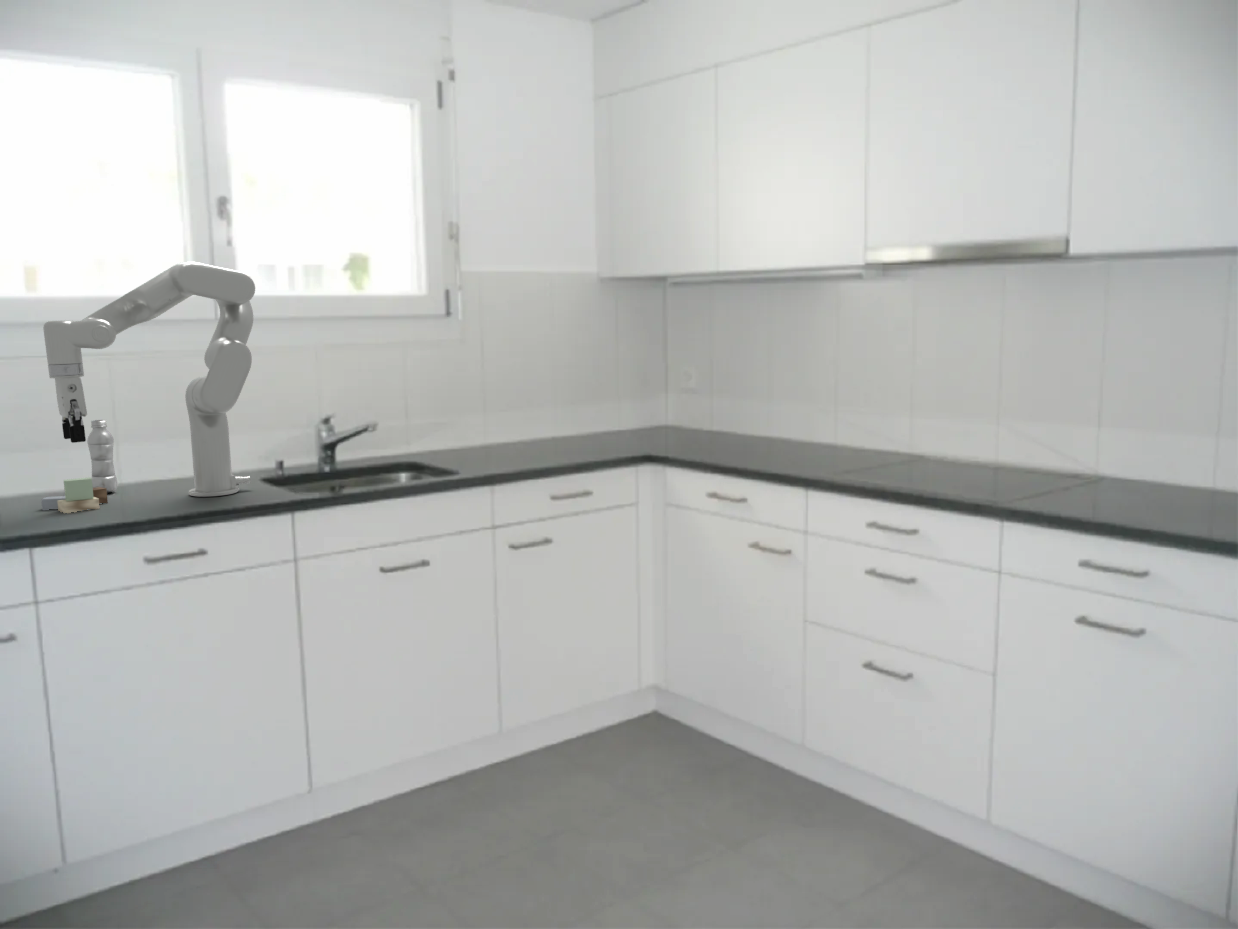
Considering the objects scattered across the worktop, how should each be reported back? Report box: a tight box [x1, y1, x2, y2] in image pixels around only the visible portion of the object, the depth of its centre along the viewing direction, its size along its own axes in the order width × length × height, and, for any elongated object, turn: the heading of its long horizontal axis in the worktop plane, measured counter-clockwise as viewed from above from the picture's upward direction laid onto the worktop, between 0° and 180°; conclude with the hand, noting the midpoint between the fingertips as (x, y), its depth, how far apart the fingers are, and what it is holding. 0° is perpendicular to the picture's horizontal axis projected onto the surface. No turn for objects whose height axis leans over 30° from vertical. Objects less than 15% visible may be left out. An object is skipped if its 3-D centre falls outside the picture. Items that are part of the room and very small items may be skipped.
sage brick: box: [63, 476, 94, 501], centre depth 250 cm, size 6×4×5 cm, turn 123°
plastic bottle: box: [86, 419, 118, 494], centre depth 272 cm, size 6×7×20 cm
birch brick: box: [57, 497, 101, 514], centre depth 250 cm, size 8×5×3 cm, turn 136°
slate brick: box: [40, 495, 65, 511], centre depth 252 cm, size 6×4×3 cm, turn 101°
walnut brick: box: [93, 487, 109, 505], centre depth 258 cm, size 5×4×4 cm
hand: (74, 440), depth 248 cm, fingers open, 9 cm apart
